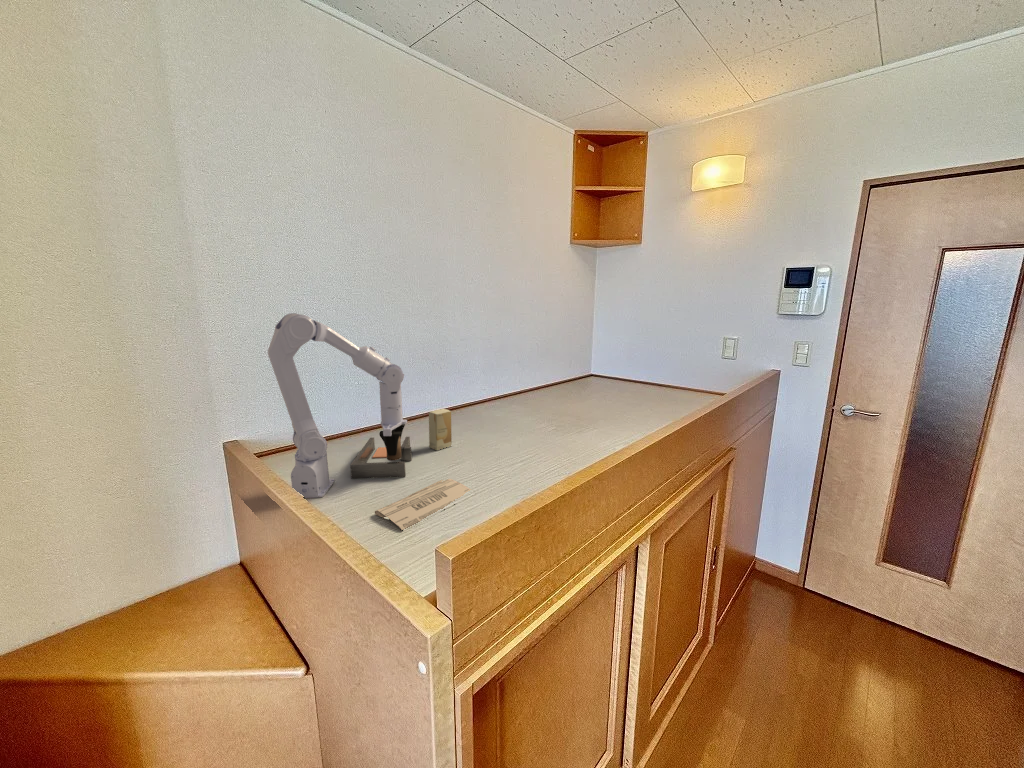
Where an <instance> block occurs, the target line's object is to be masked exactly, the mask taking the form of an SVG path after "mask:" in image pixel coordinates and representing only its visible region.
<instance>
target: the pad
mask: <svg viewBox="0 0 1024 768" xmlns="http://www.w3.org/2000/svg"><path fill="white" fill-rule="evenodd" d="M374 452H375V453H374V454H372V455H373V456H372V457H371V458H372V459H387V451H386V447H385V446H383V447H380V446H379V447H378V448H377V449H375V451H374Z"/></svg>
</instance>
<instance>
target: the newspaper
mask: <svg viewBox="0 0 1024 768" xmlns="http://www.w3.org/2000/svg"><path fill="white" fill-rule="evenodd" d="M442 481H443V482H442ZM470 490H472V489H471V488H469V487H468V486H466V485H464V484H463V483H460V482H459V481H456V480H454V479H452V478H447V479H445V480H443V479H441V480H438V481H436V482H434V483H432V484H430V485H428V486H426V487H424V488H421V489H419V490H418V491H416V492H413V493H410V494H409V495H406V497H404V498H401V499H399V500H396V501H394V502H392V503H390V504H388V505H385V506H383V507H381V508H378V509H376V510H374V514H375V516H378V517H380V518H381V517H383V518H384V517H388V518H389V519H390V520H391V522H393V523H394V524H395V525H396V526H397V527H398V528H399V529H401V531H402V530H404V529H406V528H408V527H410V526H412V525H414V524H416V523H418V522H420V521H421V520H422V519H424V518H426V517H427V516H429V515H431V514H433V513H435V512H437V511H438V510H440V509H443V508H444V507H445V506H447V505H448V504H450V503H451V502H453V501H455V499H458V498H460V497H461V496H463V495H464V494H465V493H466V492H468V491H470ZM383 518H382V519H383Z"/></svg>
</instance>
